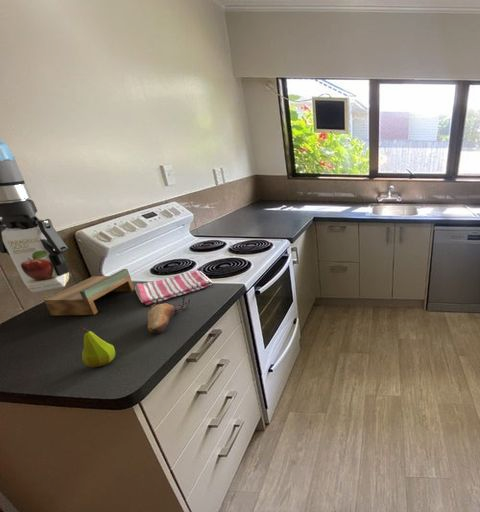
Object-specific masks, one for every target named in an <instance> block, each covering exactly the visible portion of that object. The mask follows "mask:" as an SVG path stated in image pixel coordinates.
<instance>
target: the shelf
mask: <svg viewBox="0 0 480 512" xmlns="http://www.w3.org/2000/svg"><path fill="white" fill-rule="evenodd" d="M134 286H135V285H134V284H133V280H132V278H131V276H130V272H129V269H128V268H123V269H122V268H121V270H119V271H116V272H115V273H113V274H111V275H104V276H103V275H100V276H99V275H95V276H90V277H89V278H86V279H84V280H82V281H80V282H78V283H76V284H74V285H72V286H70V287H68V288H66V289H64V290H61V291H59V292H57V293H55V294H53V295H51V296H49V297H47V298H45V299H43V302H44V304H45V306H46V308H47V310H48V312H49V314H50V316H94V315H96V314H98V313H99V310H98V309H97V307H96V305H95V300H97V299H99V298H101V297H103V296H105V295H106V294H108V293H110V292H133V291H135V288H134Z"/></svg>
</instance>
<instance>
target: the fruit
mask: <svg viewBox="0 0 480 512" xmlns="http://www.w3.org/2000/svg"><path fill="white" fill-rule="evenodd" d="M80 329H81V330H83V331H85V332H84V334H83V350H82V352H81V360H82V363H83V364H84V365H85V366H87V367H90V368H98V367H103V366H106V365H109V363H110V362H112V361H113V360H114V359H115V357H116V350H115V349H116V348H115V346H114V345H113V344H112V343H108V342H107V341H105V340H103V339H102V338H100V337H99V336H98V335H96V334H95V333H94V332H93V331H91V330H88V329H86V328H84V327H81V328H80Z"/></svg>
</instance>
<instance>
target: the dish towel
mask: <svg viewBox="0 0 480 512" xmlns="http://www.w3.org/2000/svg"><path fill="white" fill-rule="evenodd" d="M213 284H214V283H213V281H212V280H211V279H210V278H209V277H208V276H206V274H204V273H203V272H202V271H201V270H191V271H187V272H183V273H180V274H177V275H174V276H170V277H167V278H162V279H159V280H152V281H147V282H143V283H135V285H133V286H134V289H135V290H134V291H135V293H136V295H137V297H138V299H139V301H140V302H141V303H142V304H144V305H145V306H151V305H153V304H155V303H156V302H157V299H158V297H159V299H158V302H157V303H160V302H161V301H162V302H163V301H167V300H170V299H171V298H176V297H180V296H183V295H187V294H189V293H192V292H196V291H200V290H202V289H205V288H207V287H211V286H212V285H213ZM158 294H159V296H157V295H158ZM162 299H163V300H162ZM157 303H156V304H157Z"/></svg>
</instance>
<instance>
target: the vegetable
mask: <svg viewBox="0 0 480 512" xmlns="http://www.w3.org/2000/svg"><path fill="white" fill-rule="evenodd" d="M157 296H159V294H158V295H157ZM185 298H186V296H183V297H182V298H181V300H182V305H181V304H179V305H178V306H179V307H177V306H174V305H173V304H171V303H168V302H167V301H166V302H164V303H162V302H163V301H164V300H163V299H162V300H163V301H160V302H158V299H159V297H158V299H157V302H156V303H153V304H151V305H150V309H149V310H148V312H147V314H146V317H147V318H146V319H147V330H148V332H150V333H151V334H154V335H160V334H162V333H164V332H165V331H166V329H167V328H168V325H169V322H170V320H171V319H172V317H174V316H175V315H176V314H177V312H178V311H186V309H187V308H188V307H189V305H190V303H191V299H188V300H187V301H188V303H187V302H185ZM157 303H158V304H157ZM184 305H185V308H184Z"/></svg>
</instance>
